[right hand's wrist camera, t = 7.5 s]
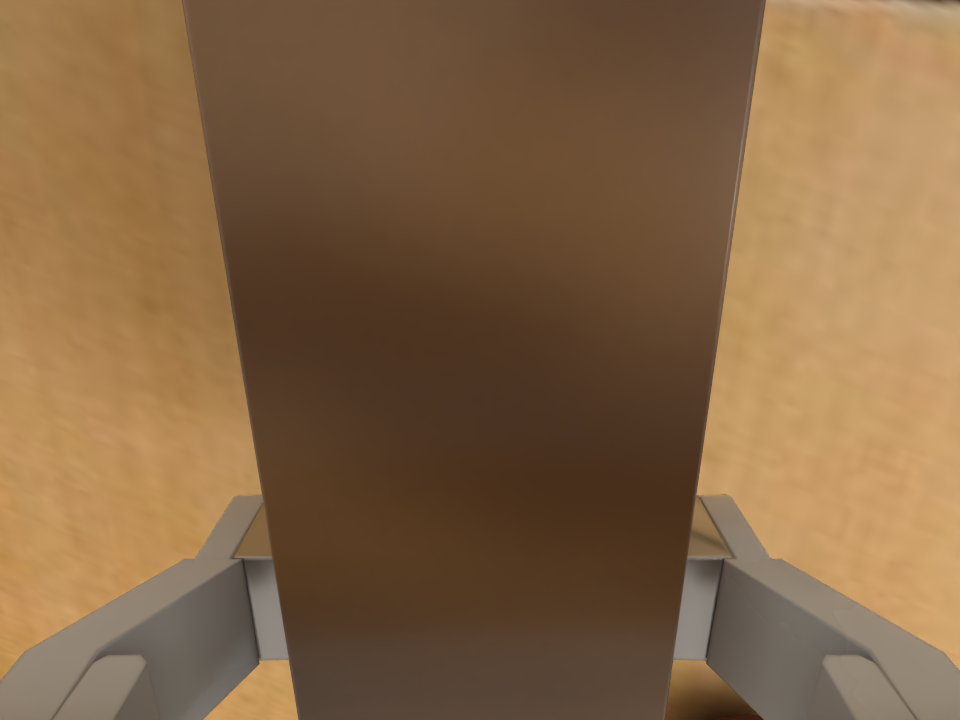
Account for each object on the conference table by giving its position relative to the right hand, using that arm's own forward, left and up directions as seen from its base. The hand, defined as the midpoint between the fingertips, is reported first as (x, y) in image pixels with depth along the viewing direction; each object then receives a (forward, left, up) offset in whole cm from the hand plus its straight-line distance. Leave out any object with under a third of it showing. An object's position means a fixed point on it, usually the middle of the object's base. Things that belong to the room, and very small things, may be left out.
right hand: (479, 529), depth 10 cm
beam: (+23, -10, -3) cm, 25 cm away
